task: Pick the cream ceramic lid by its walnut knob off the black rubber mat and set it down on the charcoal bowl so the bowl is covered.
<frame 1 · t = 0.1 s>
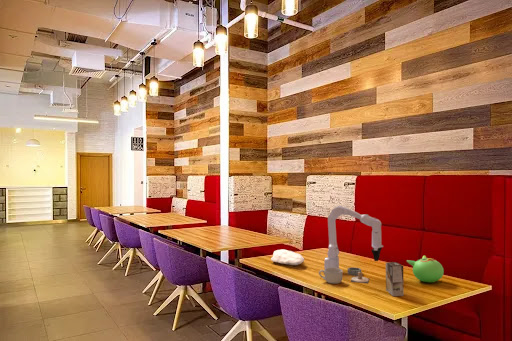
hand: (376, 259, 239), 10 cm above the table, tool pointing down, fingers open, 7 cm apart
crumpled cloth: (289, 263, 273), on the table
green teapot: (427, 281, 225), on the table
lid: (360, 276, 227), on the mat
coffee box: (394, 293, 203), on the table
teacup: (330, 283, 223), on the table
bowl: (354, 274, 241), on the table
mat: (360, 280, 227), on the table
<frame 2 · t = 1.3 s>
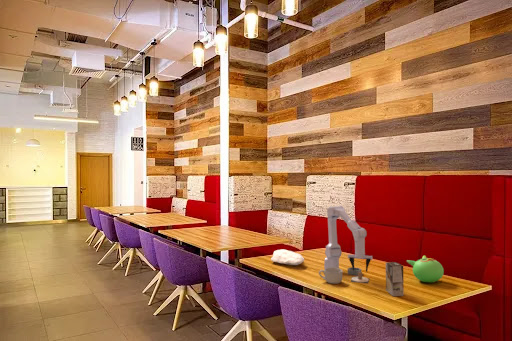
hand: (360, 270, 227), 6 cm above the table, tool pointing down, fingers open, 7 cm apart
nothing on the table moved.
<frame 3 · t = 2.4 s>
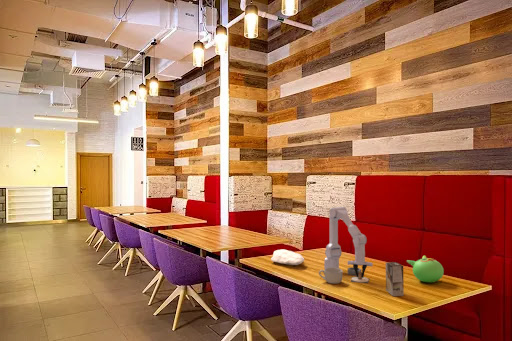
hand: (360, 277, 227), 2 cm above the table, tool pointing down, fingers closed on lid, 3 cm apart
lid: (360, 276, 227), on the mat, touching gripper
everything else where it was.
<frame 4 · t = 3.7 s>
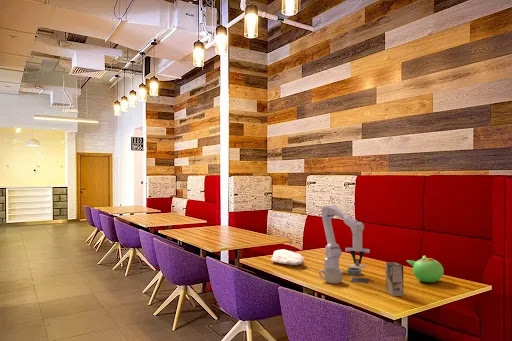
hand: (357, 263, 233), 9 cm above the table, tool pointing down, fingers closed on lid, 3 cm apart
lid: (357, 262, 232), point 10 cm above the table, touching gripper
everything else where it was.
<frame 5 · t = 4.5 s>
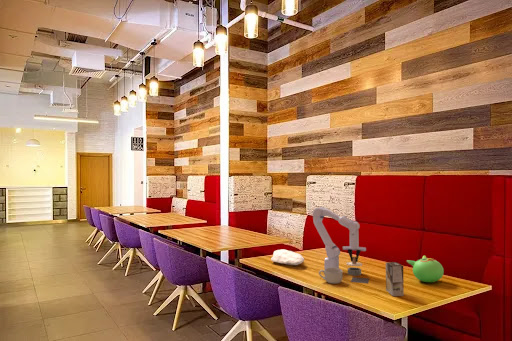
hand: (354, 261, 242), 8 cm above the table, tool pointing down, fingers closed on lid, 3 cm apart
lid: (354, 260, 241), point 9 cm above the table, touching gripper
everything else where it was.
when the fingers open (6 cm above the table, at t = 5.1 s): lid stays where it is, resting on bowl.
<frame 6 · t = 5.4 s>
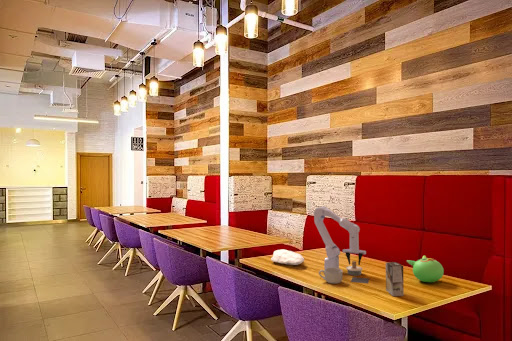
hand: (354, 264, 242), 6 cm above the table, tool pointing down, fingers open, 5 cm apart
lid: (354, 265, 241), on the bowl, point 6 cm above the table
everything else where it was.
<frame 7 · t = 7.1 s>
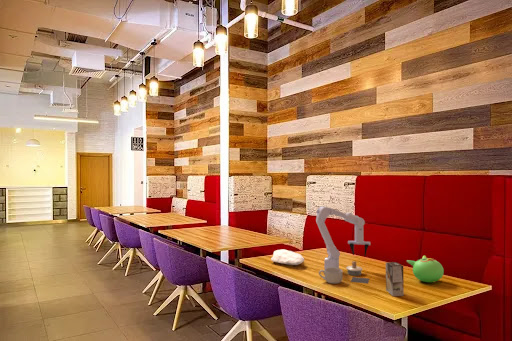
hand: (359, 255, 251), 10 cm above the table, tool pointing down, fingers open, 7 cm apart
nothing on the table moved.
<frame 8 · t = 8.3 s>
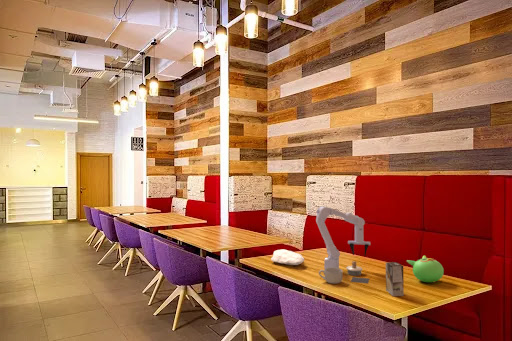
hand: (359, 255, 251), 10 cm above the table, tool pointing down, fingers open, 7 cm apart
nothing on the table moved.
at the end: lid 0.4 cm off-centre on the bowl, point 5.9 cm above the bowl's base; lid tilted 0°; lid touching bowl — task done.
